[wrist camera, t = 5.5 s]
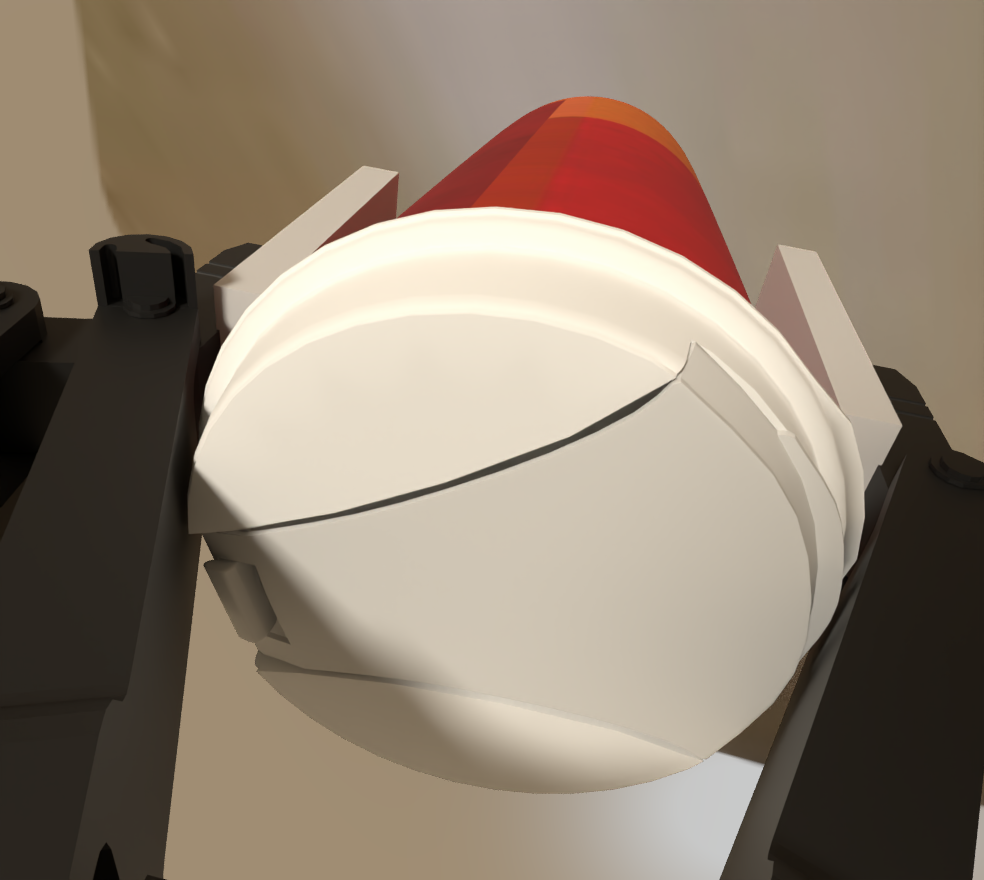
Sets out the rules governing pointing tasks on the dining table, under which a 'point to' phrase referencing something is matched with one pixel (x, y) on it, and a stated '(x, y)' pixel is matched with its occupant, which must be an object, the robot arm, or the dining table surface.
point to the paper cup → (528, 472)
